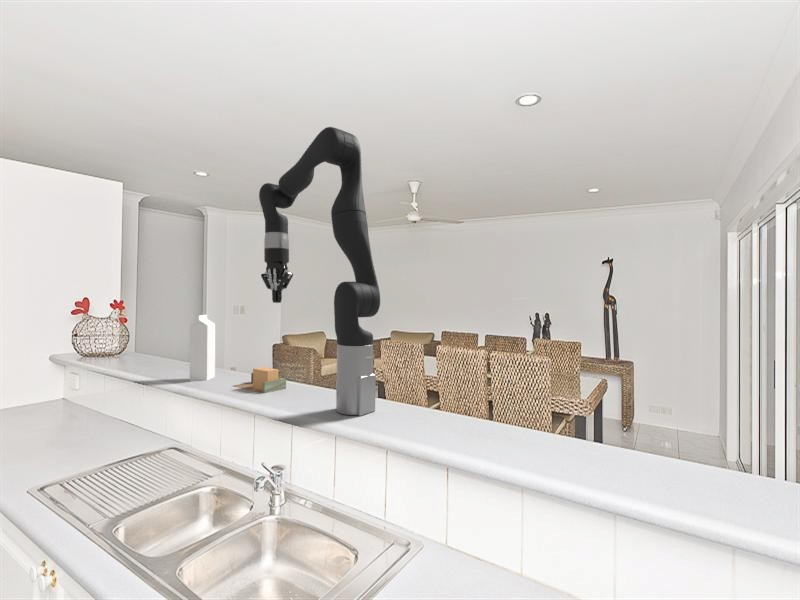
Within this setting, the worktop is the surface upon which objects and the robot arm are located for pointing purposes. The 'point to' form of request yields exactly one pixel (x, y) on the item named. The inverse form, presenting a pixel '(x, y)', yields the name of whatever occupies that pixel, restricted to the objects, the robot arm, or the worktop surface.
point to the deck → (265, 385)
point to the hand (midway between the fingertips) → (276, 302)
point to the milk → (202, 349)
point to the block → (263, 376)
